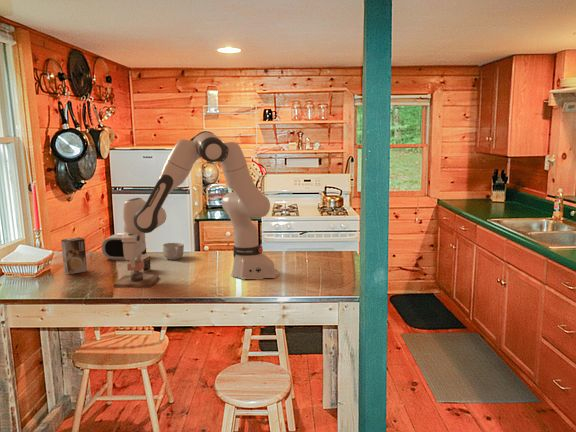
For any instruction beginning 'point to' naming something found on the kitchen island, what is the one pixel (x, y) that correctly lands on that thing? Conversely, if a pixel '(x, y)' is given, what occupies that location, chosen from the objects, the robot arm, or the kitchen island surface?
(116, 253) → the alarm clock
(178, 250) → the teacup
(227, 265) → the kitchen island surface
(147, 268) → the medicine bottle
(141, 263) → the ring
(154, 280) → the toggle switch plate
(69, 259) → the coffee box
